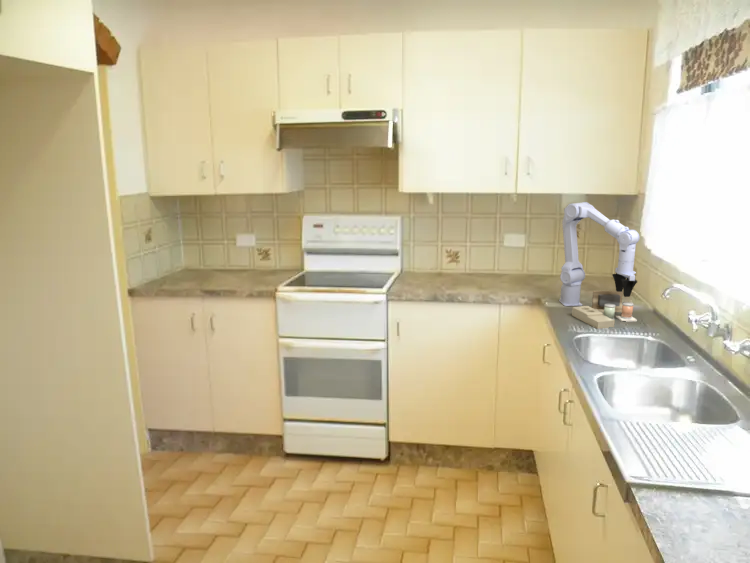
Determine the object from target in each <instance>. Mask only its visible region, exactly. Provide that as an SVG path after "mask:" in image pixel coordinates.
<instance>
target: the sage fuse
mask: <svg viewBox="0 0 750 563" xmlns="http://www.w3.org/2000/svg"><path fill="white" fill-rule="evenodd" d="M615 313H616V312H615V304H610V303H607V304H605V306H604V312H603V315H604V316H607V317H609V318H611V319H613V320H615V317H616V314H615Z"/></svg>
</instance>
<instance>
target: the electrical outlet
mask: <svg viewBox="0 0 750 563" xmlns="http://www.w3.org/2000/svg"><path fill="white" fill-rule="evenodd" d="M591 307H592V306H589V305H583V306H572V309H571V310H572V311H571V312H572V313H571V316H572V317H574V318H575V319H578V320H580V321H582V322H584V323H585V324H586V325H589V326H591V327H593V328H594V329H597V330H599V329H610V328H609V327H613V328H615V323H616V320H615V319H614V320H613V319H611V318H609V317H607V316H604V312H600V311H598V310H596V309H594V308H591Z"/></svg>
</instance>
